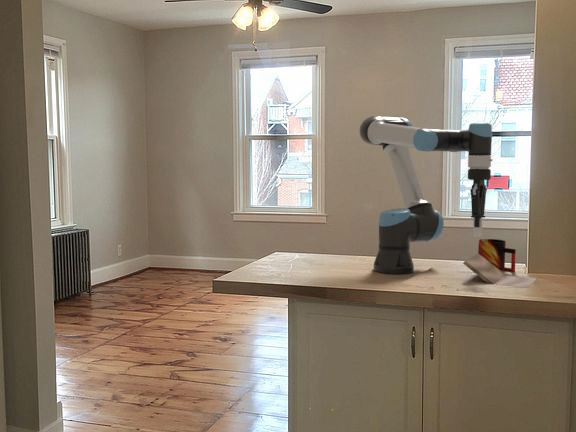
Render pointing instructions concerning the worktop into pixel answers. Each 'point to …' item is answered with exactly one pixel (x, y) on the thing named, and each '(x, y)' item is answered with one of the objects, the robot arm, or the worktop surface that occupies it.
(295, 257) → the worktop surface
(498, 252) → the mug
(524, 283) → the laid plank
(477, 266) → the plank
